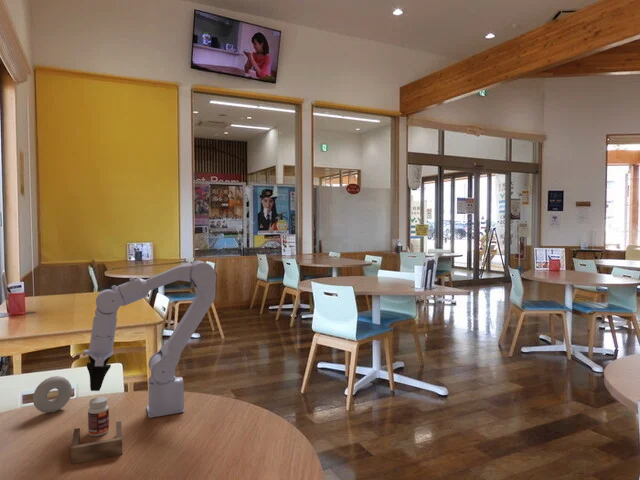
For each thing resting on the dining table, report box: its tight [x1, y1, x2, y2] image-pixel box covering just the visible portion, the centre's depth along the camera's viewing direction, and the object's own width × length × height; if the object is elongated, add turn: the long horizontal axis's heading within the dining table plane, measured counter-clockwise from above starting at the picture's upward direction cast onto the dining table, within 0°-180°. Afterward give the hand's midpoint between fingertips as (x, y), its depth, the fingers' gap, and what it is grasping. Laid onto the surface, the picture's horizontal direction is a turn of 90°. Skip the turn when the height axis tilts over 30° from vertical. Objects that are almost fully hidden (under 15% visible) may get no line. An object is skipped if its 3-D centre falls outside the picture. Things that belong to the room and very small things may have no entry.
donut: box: [32, 375, 73, 414], centre depth 128 cm, size 10×3×10 cm, turn 143°
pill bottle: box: [87, 396, 110, 437], centre depth 115 cm, size 5×5×8 cm
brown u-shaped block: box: [70, 420, 123, 465], centre depth 107 cm, size 10×10×4 cm
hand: (95, 385), depth 121 cm, fingers open, 7 cm apart
